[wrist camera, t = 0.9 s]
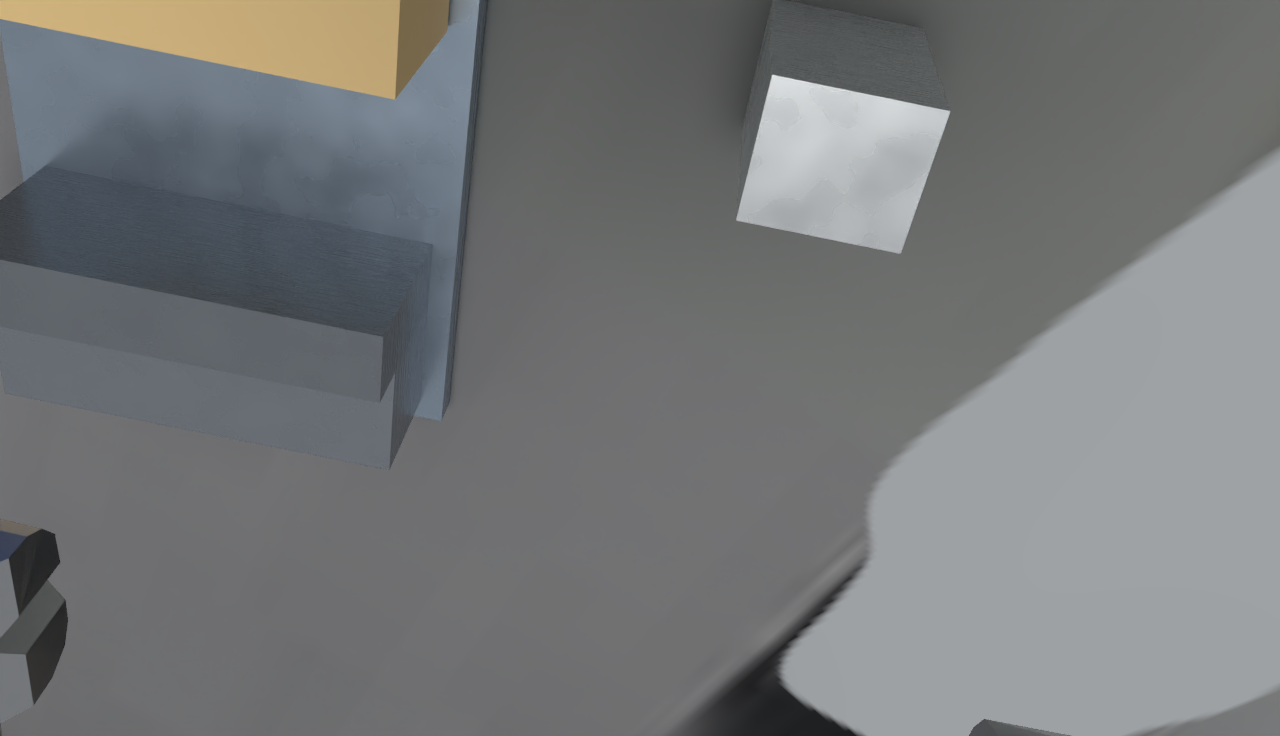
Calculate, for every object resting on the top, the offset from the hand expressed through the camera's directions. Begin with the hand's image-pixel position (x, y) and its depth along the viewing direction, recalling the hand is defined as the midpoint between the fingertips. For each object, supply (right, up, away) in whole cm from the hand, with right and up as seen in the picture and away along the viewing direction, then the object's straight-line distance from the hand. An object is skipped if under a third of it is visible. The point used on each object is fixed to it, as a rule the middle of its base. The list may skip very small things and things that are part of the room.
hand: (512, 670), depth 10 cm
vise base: (-14, +13, +35) cm, 40 cm away
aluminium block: (+8, +13, +32) cm, 36 cm away
